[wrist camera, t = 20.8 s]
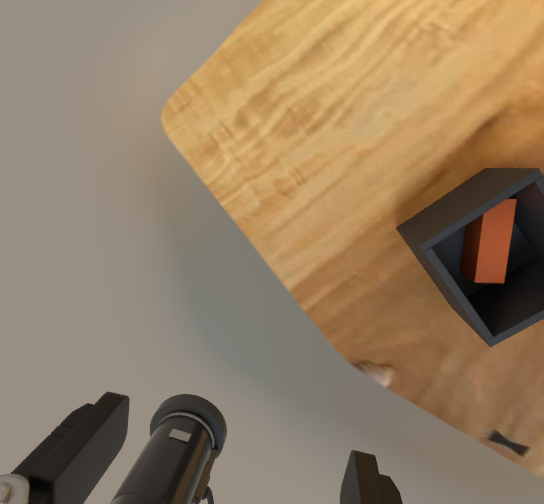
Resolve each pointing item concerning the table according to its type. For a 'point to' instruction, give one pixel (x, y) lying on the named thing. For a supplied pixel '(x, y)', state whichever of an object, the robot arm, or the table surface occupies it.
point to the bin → (521, 259)
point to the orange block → (488, 244)
